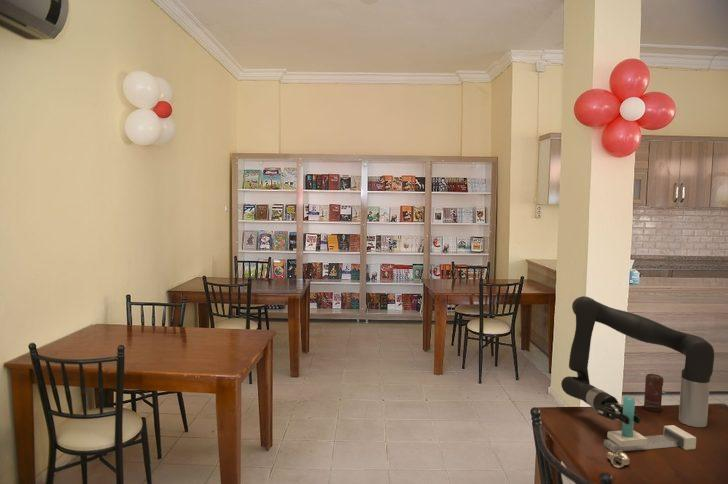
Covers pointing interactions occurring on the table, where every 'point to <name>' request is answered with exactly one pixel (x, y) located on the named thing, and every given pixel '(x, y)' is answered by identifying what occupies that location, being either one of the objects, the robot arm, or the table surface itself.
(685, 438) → the end stop
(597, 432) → the table surface
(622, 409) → the robot arm
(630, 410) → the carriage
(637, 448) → the rail
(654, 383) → the can
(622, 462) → the silver metal fitting
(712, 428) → the table surface
